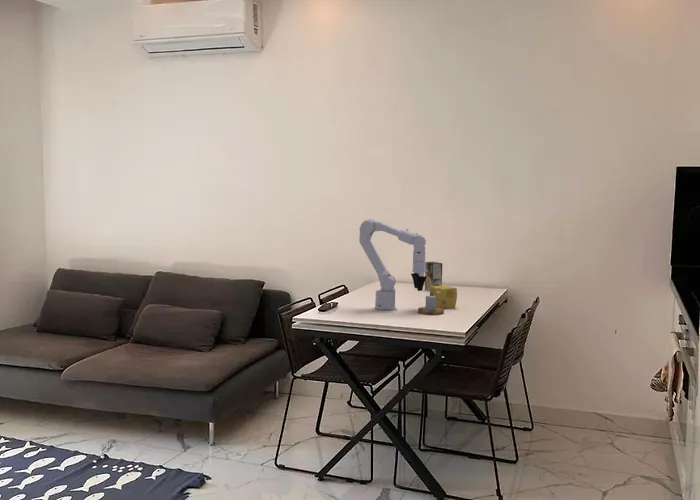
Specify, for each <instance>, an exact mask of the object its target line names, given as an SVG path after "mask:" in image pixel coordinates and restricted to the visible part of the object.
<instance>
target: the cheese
mask: <svg viewBox="0 0 700 500" xmlns="http://www.w3.org/2000/svg"><path fill="white" fill-rule="evenodd" d="M429 296H435V297H436V307H437V308H442V309H456V305H457V299H458V289H457V287H453V286H450V285H442V286H430V291H429Z"/></svg>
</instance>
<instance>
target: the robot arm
mask: <svg viewBox="0 0 700 500" xmlns="http://www.w3.org/2000/svg"><path fill="white" fill-rule="evenodd" d="M374 232H385V233H387V234H389V235H391V236H392V235H393V236H395V237H397V238H398V241H401V242H403V243H406V244H408V245H410V246H412V245H413V251H412V253H413V254H412V271H411V272H412V273H410V275H411V278H412V281H413V288H414V289H416V290H417V292H422V291H423V290H424V289H423V288H424V287H425V280H426V278H427V277H426V276H425V272H427V270H425V262H426V246H425V245H426V244H427V240H426V238H425V236H423V235H422V234H419V233H417V232H413V231H410V230H409V229H408V228H406V229H404V228H402V229H398V228H396V227H393V226H391V225H389V224H386V223H384V222H381V221H379V220H374V219H371V218H369V219H367V220H363V221H362V223H361V224H360V227H359V237H358V238H359V244H360V246H361V247H362V249H363V251H364V252H365V254H366V256H367V259H368V260H369V262H370V264H371V265H372V267H373V269H374V270H375V273H376V275H377V278H378V280H379V284H380V285H379V286H380V289H379V290H376V291H375V302H374V303H375V304H374V307H375V308H376V310H379V311H383V310H384V311H385V310H386V311H387V310H388V311H391V310H393V311H394V310H395V311H397V309H398V308H397V307H396V288H395V287H394V286H395V285H396V283H397V281H396V278H395V277H394V276H393V275H392V274H391V273H390V271H388V270H387V268H386V266H385V265H384V263H383V260H382V259H381V257H380V255H379V254H378V252H377V250H376V248H375V246H374V245H373V242H372V241H371V240H372V237H373V234H374Z"/></svg>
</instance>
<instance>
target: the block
mask: <svg viewBox="0 0 700 500" xmlns="http://www.w3.org/2000/svg"><path fill="white" fill-rule="evenodd" d="M424 307H425V309H427V310H436V297H435V296H430V295H425V306H424Z"/></svg>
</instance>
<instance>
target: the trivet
mask: <svg viewBox="0 0 700 500" xmlns="http://www.w3.org/2000/svg"><path fill="white" fill-rule="evenodd" d="M425 307H426V306H424V307H423V306H422V307H418V308H417V313H418V314H420V315H429V316H437V315H438V316H439V315H444V314H445V308H443V309H442V308H437V307H436V310H427V309H425Z"/></svg>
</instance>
